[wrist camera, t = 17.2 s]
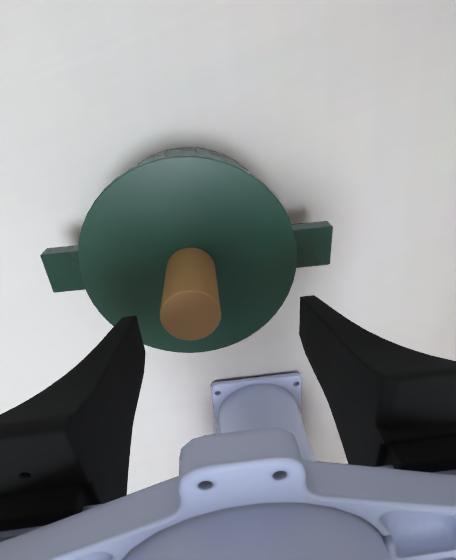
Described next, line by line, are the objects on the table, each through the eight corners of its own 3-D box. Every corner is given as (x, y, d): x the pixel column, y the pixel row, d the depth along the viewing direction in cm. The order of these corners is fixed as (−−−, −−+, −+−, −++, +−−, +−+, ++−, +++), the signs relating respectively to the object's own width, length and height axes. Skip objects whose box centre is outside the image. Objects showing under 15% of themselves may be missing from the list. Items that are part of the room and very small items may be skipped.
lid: (290, 331, 23) (317, 397, 18) (111, 351, 22) (88, 425, 17) (294, 142, 17) (335, 164, 12) (55, 163, 17) (-2, 194, 12)
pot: (305, 286, 27) (329, 328, 22) (92, 308, 26) (70, 357, 22) (311, 136, 22) (345, 149, 17) (46, 159, 21) (4, 179, 16)
